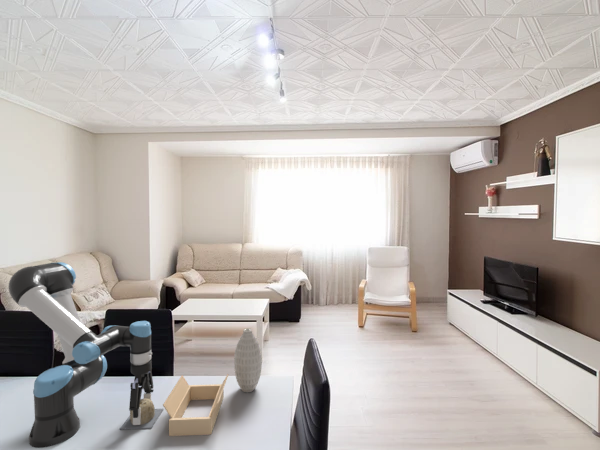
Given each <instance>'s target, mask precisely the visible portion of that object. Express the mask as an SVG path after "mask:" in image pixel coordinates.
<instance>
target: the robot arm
mask: <svg viewBox="0 0 600 450" xmlns="http://www.w3.org/2000/svg"><path fill="white" fill-rule="evenodd" d="M76 278H77V275H76V271H75V270H74V268H73V267H72V266H71V265H70V264H68V263H66V262H63V261H61V262H59V261H58V262H57V261H56V262H49V263H43V264H37V265H31V266H25V267H22V268H21V269H18V270H17V271H15V272H14V273H13V274H12V276H11V277H10V279H9V281H8V292H9V295H10V297H11V298H12V300H13V301H14V302H15V303H16V304H17V305H18V306H20V307H22V308H27V309H28V310H29V311H30V312H32V314H34V315H35V316H36V317H37V318H38V319H39V320H40V321H42V322H43V323H44V324H45V325H47V327H48V328H50V329H51V330H52V331H53V332H54V333H55V334H56V335H57V337H58V340H59V344H60V346H61V348H62V352H63V354H64V359H63V361H62V365H58V366H55V367H51V368H48V369H47V370H45V371H43V372H42V373H40V374H39V375H38V376H37V377H36V379H35V380H34V384H33V389H32V390H33V392H32V393H33V401H34V403H33V404H34V405H33V406H34V409H33V410H34V421H33V423H32V427H31V429H30V431H29V432H30V433H29V436H28V444H29V446H31V447H33V448H35V449H37V448H39V449H40V448H41V449H43V448H49V447H52V446H56V445H59V444H61V443H63V442H65V441H66V440H68V439H70V438H72V436H74V435H75V434H76V433H77V432H78V431H79V429H80V428H81V421H80V420H81V419H80V417H79V416H78V414H77V412H76V409H75V407H74V405H75V404H74V403H75V402H74V400H75V399H74V397H75V396H77V395H79V394H81V393H82V392H83V391H85V390H86V389H88V388H89V387H91V386H93V385H95V384H96V383H98V381H100V380H101V379H102V378H104V376H105V374H106V372H107V369H108V362H107V358H106V356H104V355H105V354H107V353H109V352H111V351H112V350H115V349H117V348H119V347H129V349H130V350H129V351H130V354H129V355H130V356H129V357H130V359H129V361H130V373H131V374H132V375H134V381H133V382H131V383H130V396H129V408H128V411H129V412H130V411H133V425H140V424H141V407H139V406H140V400H141V399H142V392H143V391H144V393H143V398H144V399H145V398H147V399H150V400H151V401H152V393H154V381H153V380H154V379H153V373H152V369H153V367H152V365H153V364H152V363H153V361H152V355H153V352H152V329H151V328H152V326H151V322H150V321H147V320H140V321H139V320H138V321H135V322H132V323H131V324H130V325H129V326H128V325H127V326H124V325H115V324H114V325H108V326H105V327H104V328H103V330H102V331H101V332H100V333H99V334H98V335H97V334H96V333H94V332H93V331H92V330H91V329H90V328H89V327H88V326H86V325H85V324H84V323H83V322H82V321H81V319H80V316H79V314H78V310H77V309H76V305H75V303H74V299H73V296H72V293H73V291H74V287H73V285H74V284H75V282H76Z"/></svg>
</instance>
